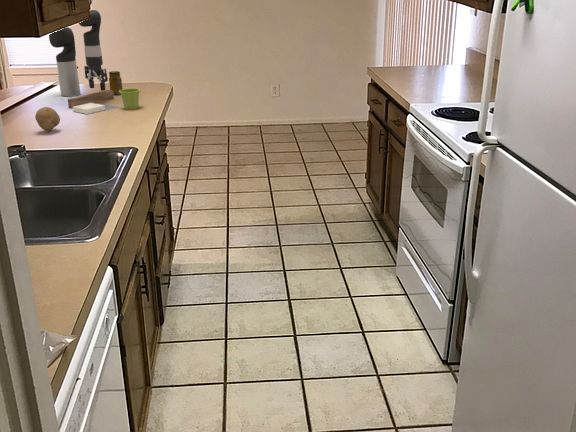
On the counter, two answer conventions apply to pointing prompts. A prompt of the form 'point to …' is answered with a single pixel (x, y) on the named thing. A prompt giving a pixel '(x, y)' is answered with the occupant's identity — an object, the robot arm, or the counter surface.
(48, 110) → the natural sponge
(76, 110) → the tile
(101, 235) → the counter surface
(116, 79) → the condiment
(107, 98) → the push bar
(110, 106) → the mat
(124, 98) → the plant pot
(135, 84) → the counter surface
